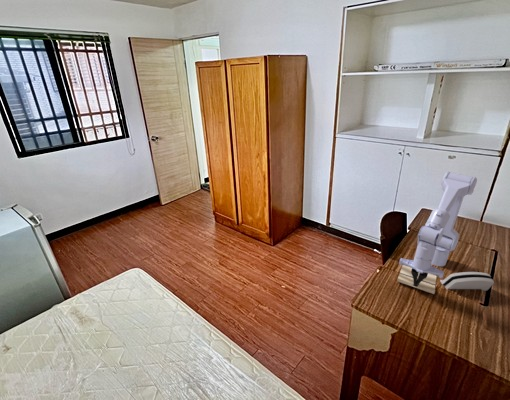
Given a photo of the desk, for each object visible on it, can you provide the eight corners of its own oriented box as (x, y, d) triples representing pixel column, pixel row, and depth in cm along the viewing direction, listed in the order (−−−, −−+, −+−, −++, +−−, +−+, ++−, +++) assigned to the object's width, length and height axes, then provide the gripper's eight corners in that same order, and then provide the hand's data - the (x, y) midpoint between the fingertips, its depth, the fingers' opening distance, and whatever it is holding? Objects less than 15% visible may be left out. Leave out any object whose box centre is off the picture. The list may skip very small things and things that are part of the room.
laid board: (402, 267, 122) (402, 264, 121) (435, 278, 115) (436, 275, 114) (399, 275, 117) (399, 273, 116) (434, 287, 110) (435, 285, 109)
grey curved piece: (478, 281, 112) (492, 268, 105) (485, 292, 109) (500, 280, 102) (437, 281, 113) (448, 269, 106) (442, 292, 110) (454, 280, 103)
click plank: (398, 276, 116) (399, 273, 116) (434, 288, 109) (435, 285, 109) (396, 281, 111) (397, 278, 110) (434, 294, 104) (435, 291, 103)
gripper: (400, 254, 102) (393, 283, 108) (446, 268, 95) (436, 298, 100) (403, 246, 108) (396, 273, 113) (447, 258, 100) (437, 287, 106)
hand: (415, 284), depth 107 cm, fingers closed, pressing on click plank
